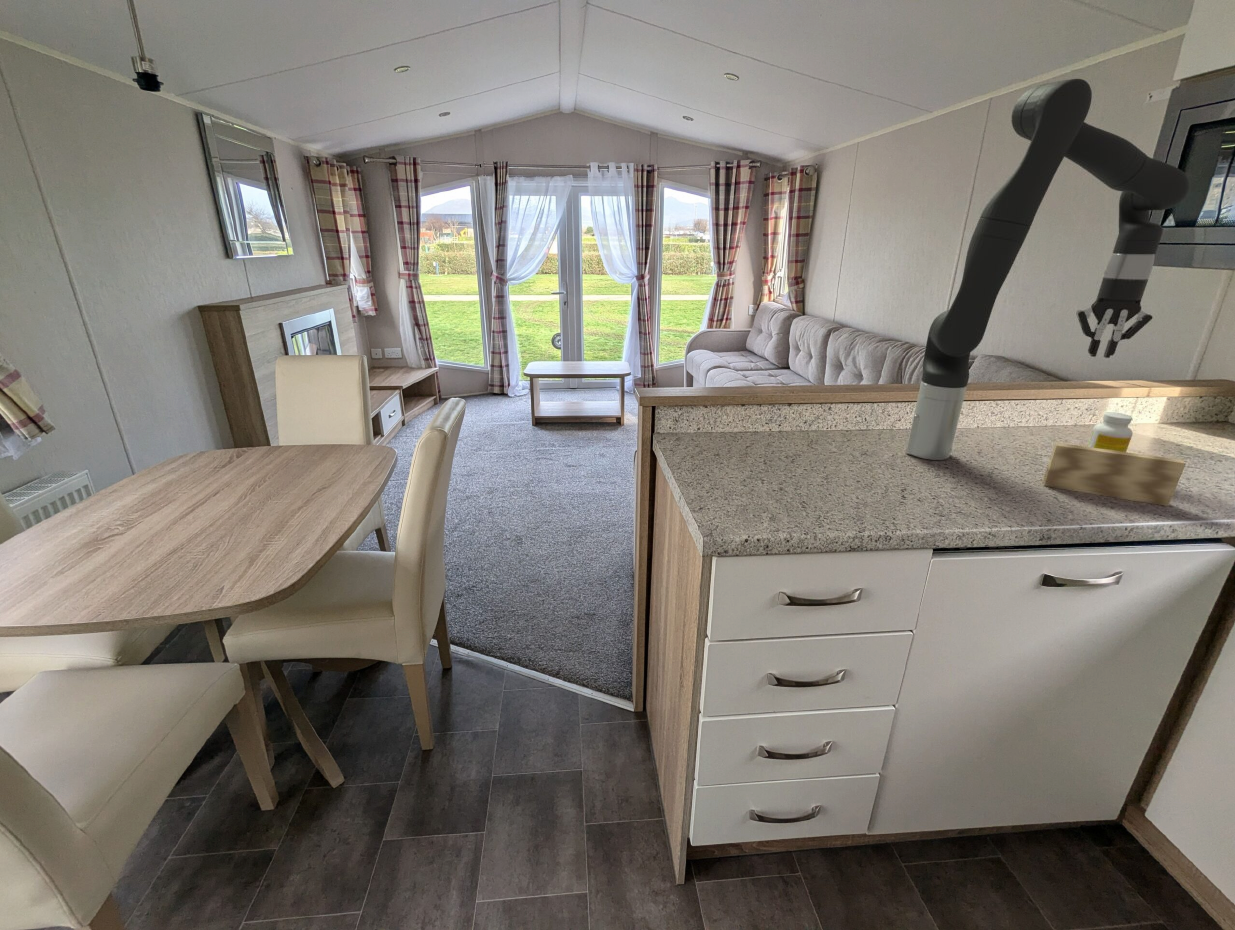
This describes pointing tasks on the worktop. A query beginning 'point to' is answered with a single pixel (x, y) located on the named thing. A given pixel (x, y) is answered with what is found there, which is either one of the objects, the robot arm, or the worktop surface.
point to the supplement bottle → (1112, 432)
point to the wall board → (1113, 473)
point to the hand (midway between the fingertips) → (1099, 356)
